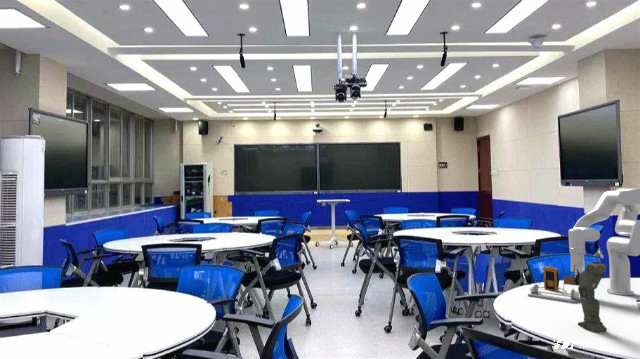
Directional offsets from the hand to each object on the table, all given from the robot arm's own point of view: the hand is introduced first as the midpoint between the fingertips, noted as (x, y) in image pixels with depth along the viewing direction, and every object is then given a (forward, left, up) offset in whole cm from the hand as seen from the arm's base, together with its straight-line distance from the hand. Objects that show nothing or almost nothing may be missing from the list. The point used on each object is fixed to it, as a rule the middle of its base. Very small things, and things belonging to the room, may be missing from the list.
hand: (579, 284), depth 232 cm
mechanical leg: (+58, +19, -7) cm, 61 cm away
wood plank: (0, 0, -1) cm, 1 cm away
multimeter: (-10, -15, -7) cm, 20 cm away
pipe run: (+12, -9, -7) cm, 17 cm away
